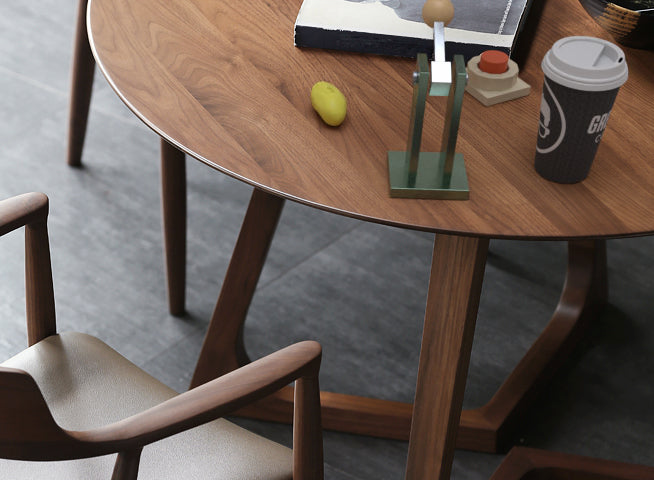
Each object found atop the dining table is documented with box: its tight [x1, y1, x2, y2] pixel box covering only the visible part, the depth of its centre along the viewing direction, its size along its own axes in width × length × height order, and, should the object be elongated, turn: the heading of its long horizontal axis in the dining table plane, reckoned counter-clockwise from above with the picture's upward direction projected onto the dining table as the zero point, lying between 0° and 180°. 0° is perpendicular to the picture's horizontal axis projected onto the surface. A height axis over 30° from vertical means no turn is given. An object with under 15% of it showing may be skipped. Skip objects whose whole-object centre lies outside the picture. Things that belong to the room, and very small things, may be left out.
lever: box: [421, 0, 455, 97], centre depth 119 cm, size 12×4×4 cm, turn 179°
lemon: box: [310, 80, 348, 127], centre depth 135 cm, size 4×8×4 cm, turn 12°
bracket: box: [386, 53, 470, 201], centre depth 121 cm, size 8×9×15 cm
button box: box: [464, 54, 532, 107], centre depth 142 cm, size 8×7×3 cm
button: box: [479, 49, 510, 74], centre depth 141 cm, size 4×4×2 cm
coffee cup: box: [533, 35, 629, 185], centre depth 124 cm, size 10×10×15 cm
